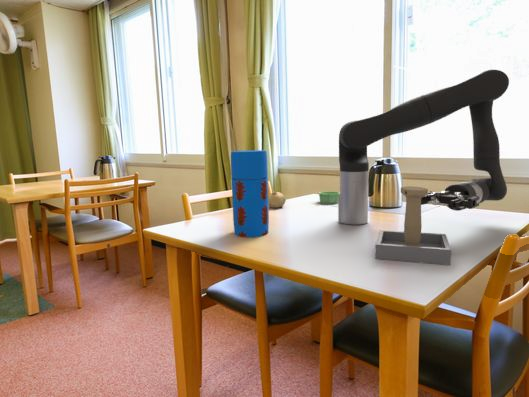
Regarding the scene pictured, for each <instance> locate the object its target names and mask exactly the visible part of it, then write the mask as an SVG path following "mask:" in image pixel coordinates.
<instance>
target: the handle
mask: <svg viewBox="0 0 529 397" xmlns="http://www.w3.org/2000/svg"><path fill="white" fill-rule="evenodd" d="M428 192H429V189H428V188H426V187H423V186H422V187H421V186H420V187H419V186H411V185H410V186H401V187H400V193H401V194H402V195H403V196H404V197H405V198H406V200H405V201H406V202H405V212H404V221H403V222H404V223H403V232H404V239H405V245H407V246H419V242H420V238H421V233H422V205H421V198H422V197H424V196H425V195H427V194H428Z"/></svg>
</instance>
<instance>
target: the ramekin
mask: <svg viewBox="0 0 529 397" xmlns="http://www.w3.org/2000/svg"><path fill="white" fill-rule="evenodd" d="M339 194H340V191H334V190H333V191H332V190H328V191H319V192H318V196H319V202H320V204H322V205H323V204H324V205H335V204H338V195H339Z"/></svg>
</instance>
